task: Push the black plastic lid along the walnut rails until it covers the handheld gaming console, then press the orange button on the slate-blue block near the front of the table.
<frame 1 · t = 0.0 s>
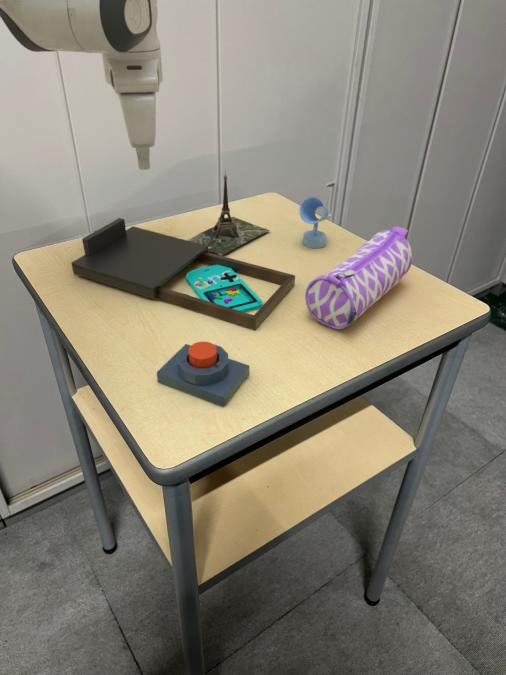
hand: (142, 159, 88), 17 cm above the table, tool pointing down, fingers open, 8 cm apart
button block: (203, 378, 69), on the table
button: (202, 355, 66), point 4 cm above the table, slide at 0.1 cm
pencil case: (356, 301, 85), on the table
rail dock: (183, 279, 89), on the table
eiffel tower figurine: (227, 238, 103), on the table
lid: (141, 251, 90), point 3 cm above the table, slide at 0.0 cm
handheld gaming console: (221, 292, 87), resting in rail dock
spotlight: (313, 244, 102), on the table
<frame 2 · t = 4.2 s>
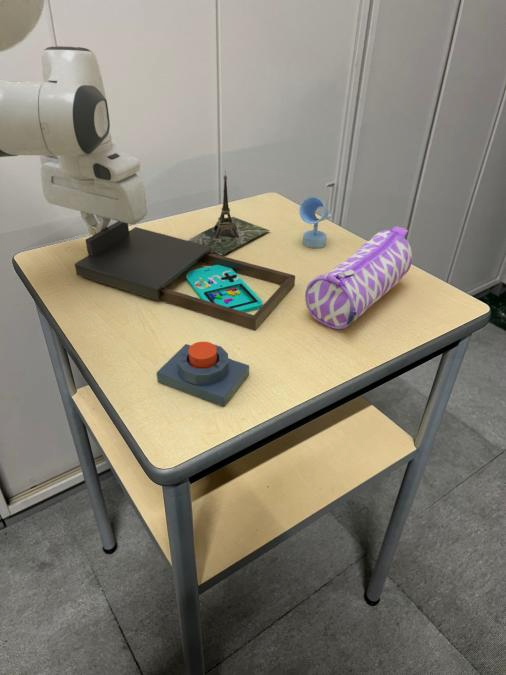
hand: (99, 235, 93), 4 cm above the table, tool pointing down, fingers closed
lid: (145, 252, 90), point 3 cm above the table, slide at 0.7 cm, touching gripper
everything else where it was.
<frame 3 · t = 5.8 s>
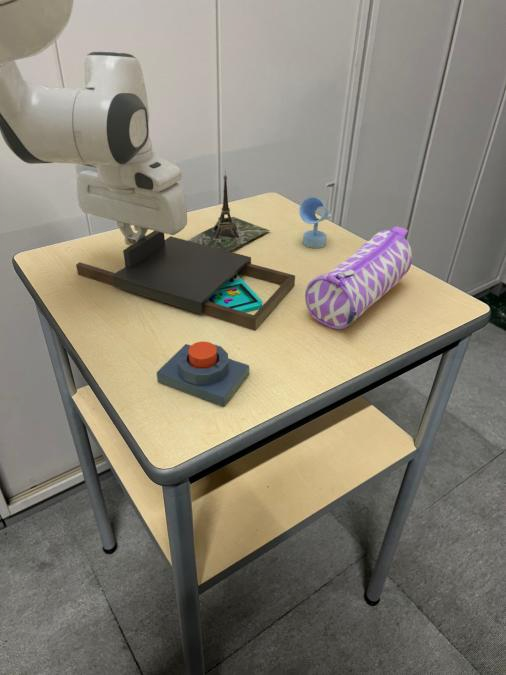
hand: (135, 245, 90), 4 cm above the table, tool pointing down, fingers closed
lid: (183, 263, 87), point 3 cm above the table, slide at 8.7 cm, touching gripper
everything else where it was.
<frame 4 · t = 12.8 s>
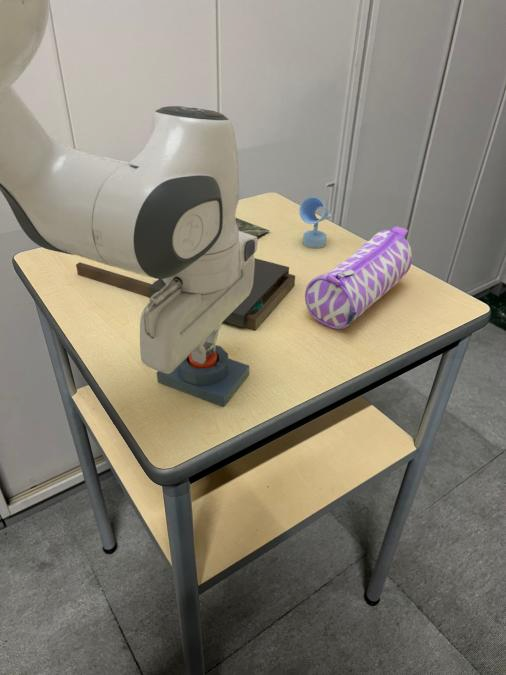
hand: (204, 356, 66), 4 cm above the table, tool pointing down, fingers closed, pressing on button
button: (203, 361, 67), point 3 cm above the table, slide at -0.9 cm, touching gripper
lid: (221, 274, 85), point 3 cm above the table, slide at 16.0 cm
everything else where it was.
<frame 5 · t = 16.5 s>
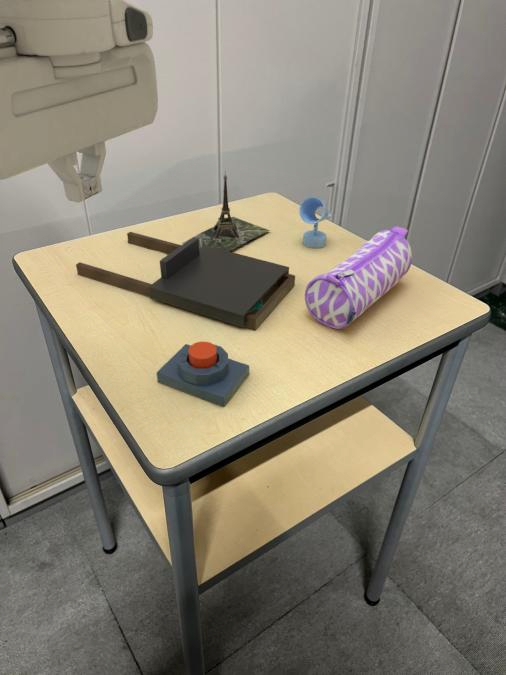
hand: (84, 196, 48), 27 cm above the table, tool pointing down, fingers closed
button: (202, 355, 66), point 4 cm above the table, slide at 0.1 cm
everything else where it was.
at the end: lid slide at 16.0 cm; button pushed in 1.1 cm at the most during the clip, back to where it started at the end; button slide at 0.1 cm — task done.
